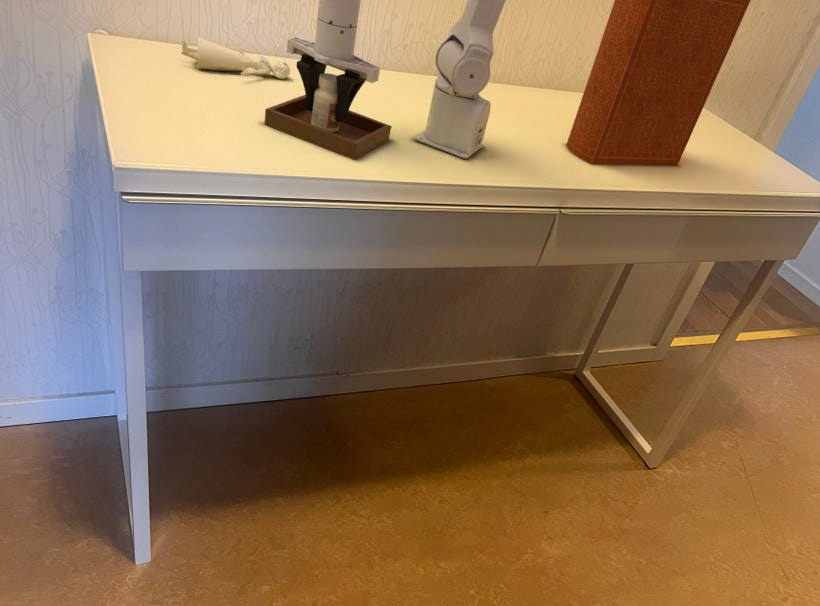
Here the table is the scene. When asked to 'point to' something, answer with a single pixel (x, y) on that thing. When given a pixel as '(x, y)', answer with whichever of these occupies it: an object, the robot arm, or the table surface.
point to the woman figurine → (231, 60)
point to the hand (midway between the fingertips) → (326, 114)
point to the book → (652, 79)
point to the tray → (348, 140)
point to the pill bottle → (325, 103)
